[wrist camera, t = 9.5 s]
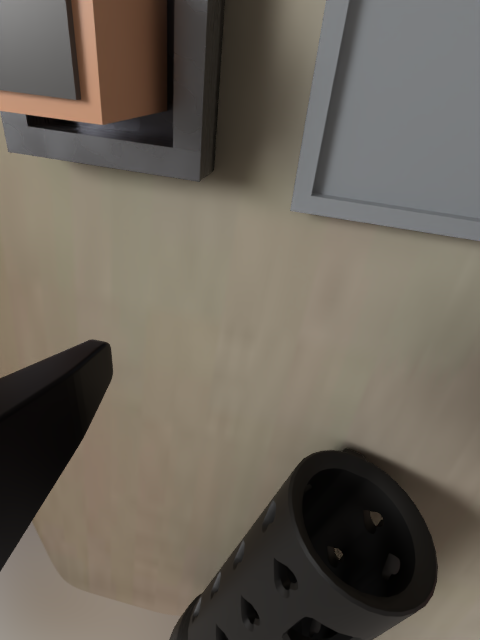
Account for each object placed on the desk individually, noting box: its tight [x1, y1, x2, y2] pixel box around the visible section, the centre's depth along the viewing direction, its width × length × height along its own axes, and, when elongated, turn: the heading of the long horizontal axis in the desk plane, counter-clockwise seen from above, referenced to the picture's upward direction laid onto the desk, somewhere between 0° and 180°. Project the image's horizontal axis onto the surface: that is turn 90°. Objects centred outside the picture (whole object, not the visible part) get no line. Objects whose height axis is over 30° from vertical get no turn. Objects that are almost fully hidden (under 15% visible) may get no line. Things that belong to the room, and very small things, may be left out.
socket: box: [0, 0, 225, 182], centre depth 16 cm, size 9×9×2 cm
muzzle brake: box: [170, 448, 438, 640], centre depth 30 cm, size 10×28×10 cm, turn 160°
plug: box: [0, 0, 167, 125], centre depth 14 cm, size 4×4×6 cm
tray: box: [290, 0, 480, 241], centre depth 15 cm, size 11×11×1 cm
